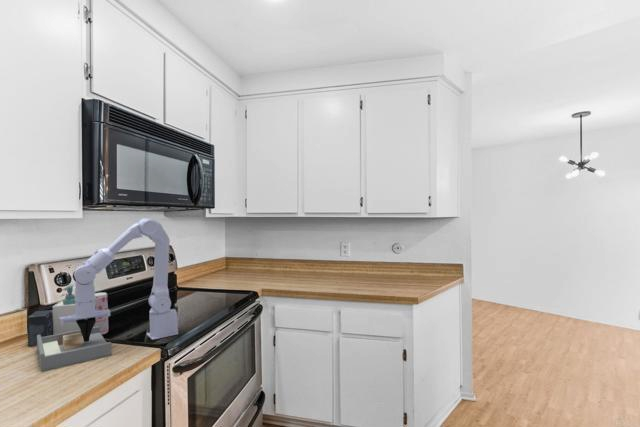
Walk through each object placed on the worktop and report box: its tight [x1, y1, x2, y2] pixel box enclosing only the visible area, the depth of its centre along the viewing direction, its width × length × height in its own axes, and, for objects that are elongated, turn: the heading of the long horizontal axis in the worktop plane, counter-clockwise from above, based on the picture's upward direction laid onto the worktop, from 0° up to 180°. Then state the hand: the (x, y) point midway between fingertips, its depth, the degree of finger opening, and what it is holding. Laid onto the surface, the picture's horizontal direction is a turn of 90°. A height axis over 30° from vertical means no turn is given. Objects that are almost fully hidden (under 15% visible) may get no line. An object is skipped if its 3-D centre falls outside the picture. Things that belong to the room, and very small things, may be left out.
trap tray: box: [36, 326, 112, 372], centre depth 126 cm, size 18×22×5 cm
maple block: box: [63, 333, 83, 350], centre depth 126 cm, size 5×5×4 cm
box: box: [27, 309, 53, 348], centre depth 136 cm, size 8×6×11 cm
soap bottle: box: [52, 284, 80, 335], centre depth 141 cm, size 9×9×19 cm
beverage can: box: [93, 292, 109, 336], centre depth 145 cm, size 6×6×15 cm
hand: (86, 340), depth 128 cm, fingers closed
